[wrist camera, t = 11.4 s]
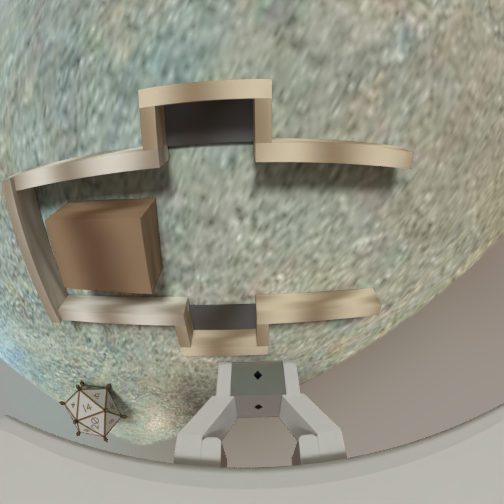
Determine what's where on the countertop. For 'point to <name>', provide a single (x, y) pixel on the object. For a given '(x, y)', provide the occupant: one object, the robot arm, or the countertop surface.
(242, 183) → the countertop surface
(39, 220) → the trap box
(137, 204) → the walnut block
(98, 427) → the game die
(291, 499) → the robot arm
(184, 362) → the countertop surface
